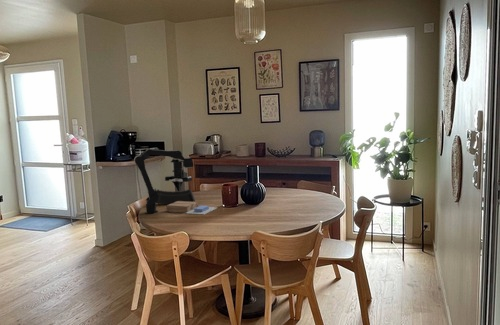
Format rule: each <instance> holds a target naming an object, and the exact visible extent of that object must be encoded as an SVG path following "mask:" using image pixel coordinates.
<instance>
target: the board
mask: <svg viewBox="0 0 500 325" xmlns="http://www.w3.org/2000/svg"><path fill="white" fill-rule="evenodd" d="M196 207H199V202H198V201H195V202H189V201H177V202H174V203H172V204H166V212H171V213H185V214H188V213H187V212H189V211H191V210H193V209H194V208H196Z"/></svg>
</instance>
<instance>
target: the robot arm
mask: <svg viewBox="0 0 500 325" xmlns="http://www.w3.org/2000/svg"><path fill="white" fill-rule="evenodd" d="M150 156H159V157H169V158H172V159H171V160H170V161H169V162H170V163H173V170H172V173H173V175H166V176H165V177H164V181H166V182H169V181H171V180H172V181H171V182H172V183H173V185H174V186H175V189H176V191H181V188H182V185H183V183H185V182H186V183H188V182H192V181H193V177H192V176H188V174H189V173H188V172H186V171H184V169H188V168H189V169H190V168H194V161H193V157H184V156H183V153H182V151H181V150H179V149H172V150H171V149H170V150H163V149H155V148H154V149H152V148H147V149H146V150H145V151H144V152H141V153H140V154H139V155H136V156H134V159H133V161H134V163H135V165H136V166H137V168H138V170H139V171H140V174H141V176H142V180H143V182H144V184H145V186H146V189H147V195H148V196H147V198H146V199H145V202H146V204H145V208H146V211H145V212H144V214H155V213H157V212H159V210H157V203H155V202H156V201H157V200H158V193H157V190H158V189H157V188H154V187H153V184H152V183H151V180H150V177H149V174H148V172H147V169H146V164H145V160H147V158H150ZM183 167H184V169H183Z"/></svg>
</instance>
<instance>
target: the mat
mask: <svg viewBox="0 0 500 325" xmlns="http://www.w3.org/2000/svg"><path fill="white" fill-rule="evenodd" d="M216 209H218V207H216V206H214V207H213V206H209V209H207V210H205V211H203V212H194V209H193V210H191V211H189V212H187V213H186V214H188V215H189V214H193V215H206V214H208V213H211V212H212V211H214V210H216Z"/></svg>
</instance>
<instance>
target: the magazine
mask: <svg viewBox="0 0 500 325" xmlns="http://www.w3.org/2000/svg"><path fill="white" fill-rule="evenodd" d="M156 190H157V193H158V200H157V201H156V202H155V203H156V204H157V205H169V204H172V203H174V202H177V201H189V202H196V199H195V196H194V194H193V191H192V189H191V188H188V189H185V190H180V191H178V190H176V191H171V190H170V191H169V190H167V191H166V190H160V189H156Z"/></svg>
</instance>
